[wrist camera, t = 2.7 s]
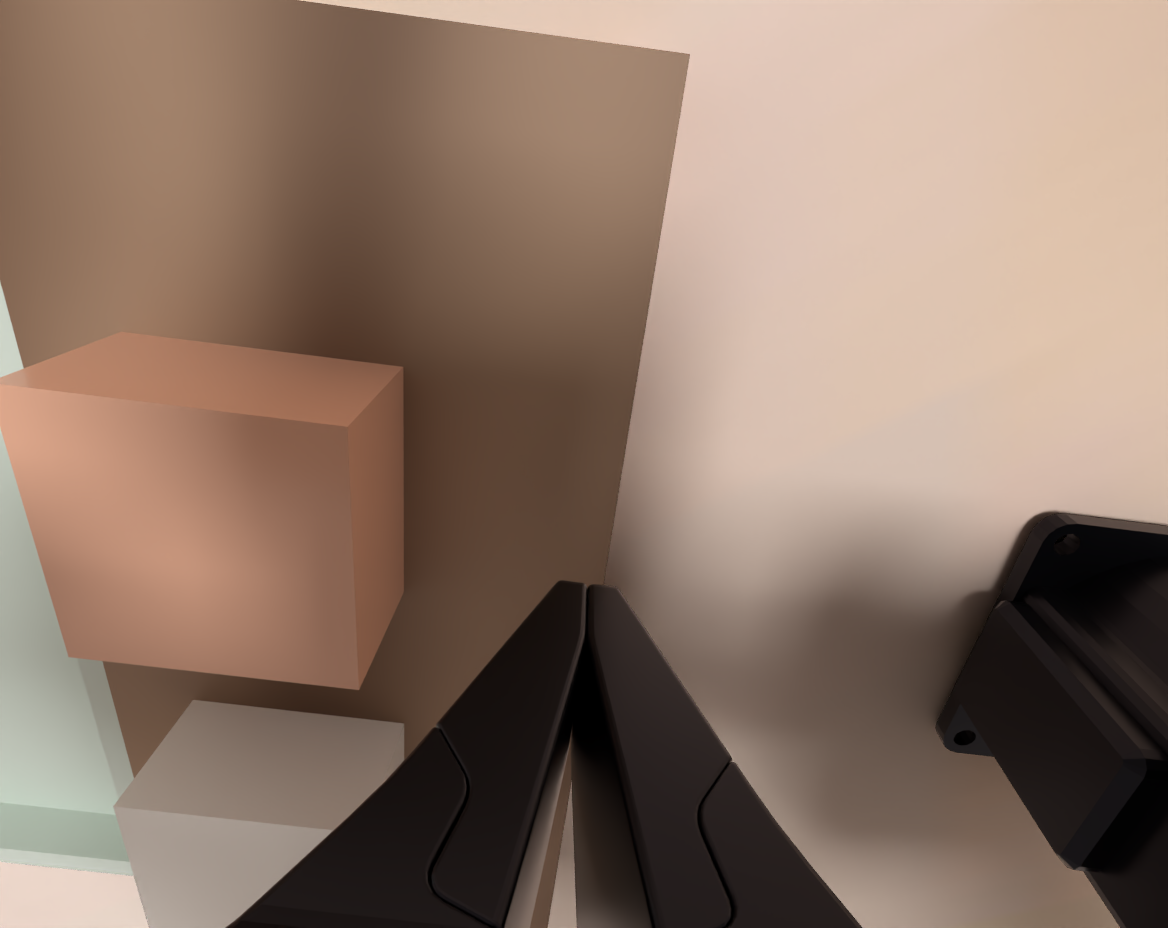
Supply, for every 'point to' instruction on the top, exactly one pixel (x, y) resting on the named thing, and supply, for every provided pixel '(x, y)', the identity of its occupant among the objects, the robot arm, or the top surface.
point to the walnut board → (361, 276)
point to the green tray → (50, 709)
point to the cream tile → (243, 804)
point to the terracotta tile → (214, 504)
